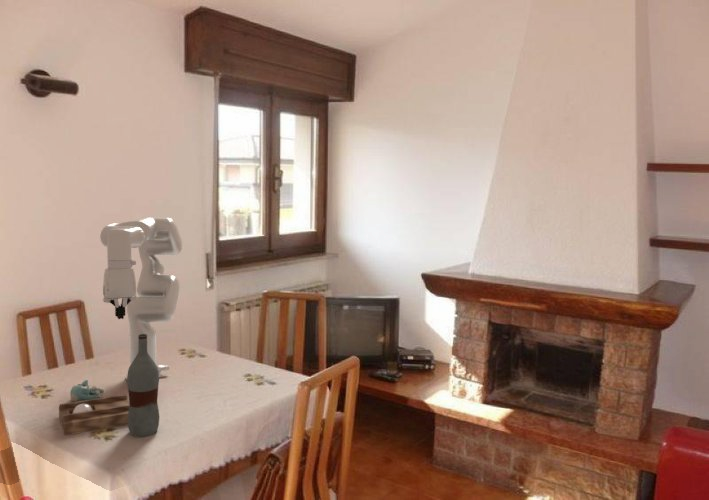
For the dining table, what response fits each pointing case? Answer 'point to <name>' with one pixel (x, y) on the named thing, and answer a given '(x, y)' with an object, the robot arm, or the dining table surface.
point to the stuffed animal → (84, 392)
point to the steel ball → (82, 408)
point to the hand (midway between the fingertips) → (120, 318)
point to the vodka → (143, 392)
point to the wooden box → (94, 414)
